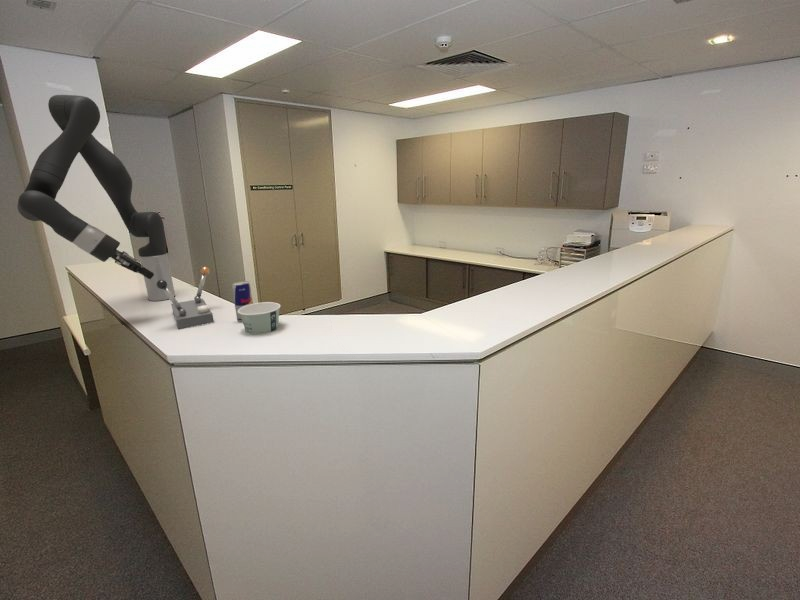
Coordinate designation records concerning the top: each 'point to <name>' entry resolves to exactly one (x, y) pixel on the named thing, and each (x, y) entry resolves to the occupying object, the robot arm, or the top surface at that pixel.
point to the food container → (260, 317)
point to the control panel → (192, 314)
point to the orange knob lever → (201, 284)
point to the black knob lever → (171, 296)
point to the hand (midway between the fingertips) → (152, 276)
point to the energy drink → (241, 296)
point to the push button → (203, 308)
